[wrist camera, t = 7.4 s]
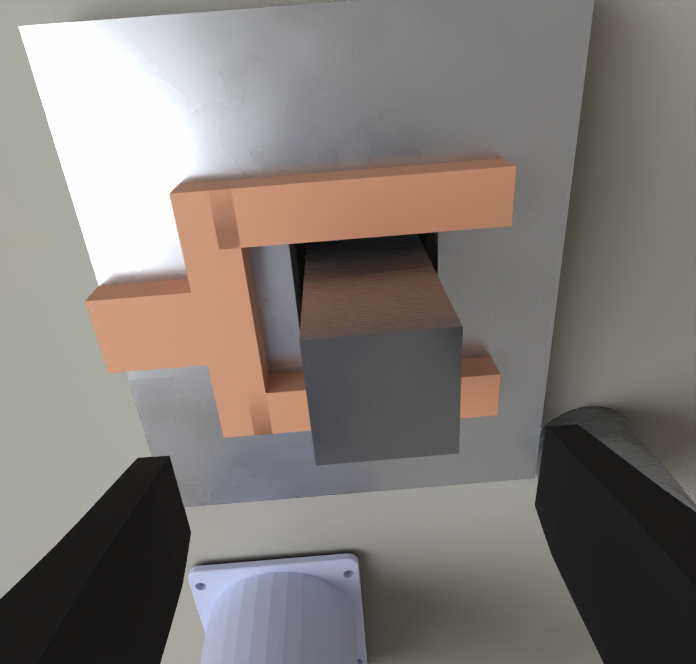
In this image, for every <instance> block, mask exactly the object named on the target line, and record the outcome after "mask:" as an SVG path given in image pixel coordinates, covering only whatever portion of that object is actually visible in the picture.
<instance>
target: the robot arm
mask: <svg viewBox="0 0 696 664" xmlns="http://www.w3.org/2000/svg"><path fill="white" fill-rule="evenodd" d="M535 507H536V510H537V513H538V516H539V519H540V522H541V525H542V528H543V531H544V534H545V537H546V540H547V543H548V546H549V548H550V551H551V554H552V556H553V559H554V561H555V563H556V565H557V567H558V569H559V571H560V574H561V576H562V578H563V580H564V582H565V584H566V586H567V588H568V590H569V592H570V595H571V597H572V599H573V601H574V603H575V605H576V607H577V609H578V611H579V613H580V615H581V617H582V619H583V621H584V623H585V626H586V628H587V630H588V632H589V634H590V636H591V638H592V640H593V642H594V644H595V646H596V648H597V650H598V652H599V654H600V657H601V659H602V661H603V663H604V664H696V512H695V511H694V510H692V509H691V508H689V507H688V506H687V505H685V504H684V503H682V502H681V501H680V500H678V499H677V498H675V497H674V496H673V495H671V494H670V493H668V492H667V491H666V490H664V489H663V488H662V487H660V486H659V485H658V484H656V483H655V482H653V481H652V480H651V479H649V478H648V477H647V476H645V475H644V474H643V473H641V472H640V471H639V470H637V469H636V468H635V467H634V466H632V465H631V464H630V463H628V462H627V461H626V460H624V459H623V458H622V457H620V456H619V455H618V454H617V453H615V452H614V451H613V450H611V449H610V448H609V447H607V446H606V445H605V444H604V443H602V442H601V441H600V440H598V439H597V438H596V437H594V436H593V435H592V434H590V433H589V432H588V431H586V430H585V429H584V428H582V427H581V426H579V425H578V424H572V425H559V426H546V428H545V435H544V442H543V450H542V457H541V464H540V472H539V479H538V486H537V494H536V501H535ZM190 535H191V531H190V527H189V523H188V520H187V516H186V513H185V509H184V505H183V502H182V498H181V495H180V491H179V487H178V484H177V480H176V477H175V473H174V469H173V466H172V462H171V459H170V456H158V457H145V458H137V459H136V460H135V461H134V462H133V464H132V465H131V466H130V467H129V468H128V469H127V470H126V471H125V472H124V473H123V474H122V475H121V476H120V477H119V479H118V480H117V481H116V482H115V483H114V484H113V485H112V486H111V487H110V488H109V489H108V490H107V491H106V493H105V494H104V495H103V496H102V497H101V498H100V499H99V500H98V501H97V502H96V503H95V504H94V506H93V507H92V508H91V509H90V510H89V511H88V512H87V513H86V514H85V515H84V516H83V517H82V518H81V519H80V521H79V522H78V523H77V524H76V525H75V526H74V527H73V528H72V529H71V530H70V531H69V532H68V533H67V534H66V535H65V536H64V537H63V538H62V539H61V540H60V541H59V543H58V544H57V545H56V546H55V547H54V548H53V549H52V550H51V551H50V552H49V553H48V554H47V555H45V556H44V557H43V558H42V559H41V560H40V561H39V562H38V563H37V564H36V565H35V566H34V567H33V568H32V569H31V570H30V571H29V572H28V573H27V574H26V575H25V576H24V577H23V578H22V579H21V580H20V581H19V582H18V583H17V584H16V585H15V586H14V587H13V588H12V589H11V590H9V591H8V592H7V593H6V594H5V595H4V596H3V597H2V598H1V599H0V664H160V662H161V659H162V655H163V652H164V649H165V645H166V642H167V638H168V635H169V631H170V628H171V624H172V621H173V617H174V614H175V610H176V607H177V603H178V599H179V596H180V592H181V588H182V585H183V579H184V573H185V568H186V562H187V555H188V549H189V542H190ZM348 570H350V571H348ZM188 580H189V583H190V587H191V590H192V593H193V596H194V599H195V603H196V606H197V609H198V612H199V615H200V619H201V622H202V625H203V628H204V631H205V635H206V637H205V642H204V647H203V652H202V657H201V662H200V664H367V652H366V641H365V630H364V618H363V607H362V595H361V584H360V572H359V561H358V557H357V556H355V555H354V554H350V553H345V554H333V555H321V556H309V557H297V558H285V559H273V560H261V561H249V562H238V563H226V564H214V565H202V566H195V567H193V568H192V569H191V570H190V572H189V576H188Z"/></svg>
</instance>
